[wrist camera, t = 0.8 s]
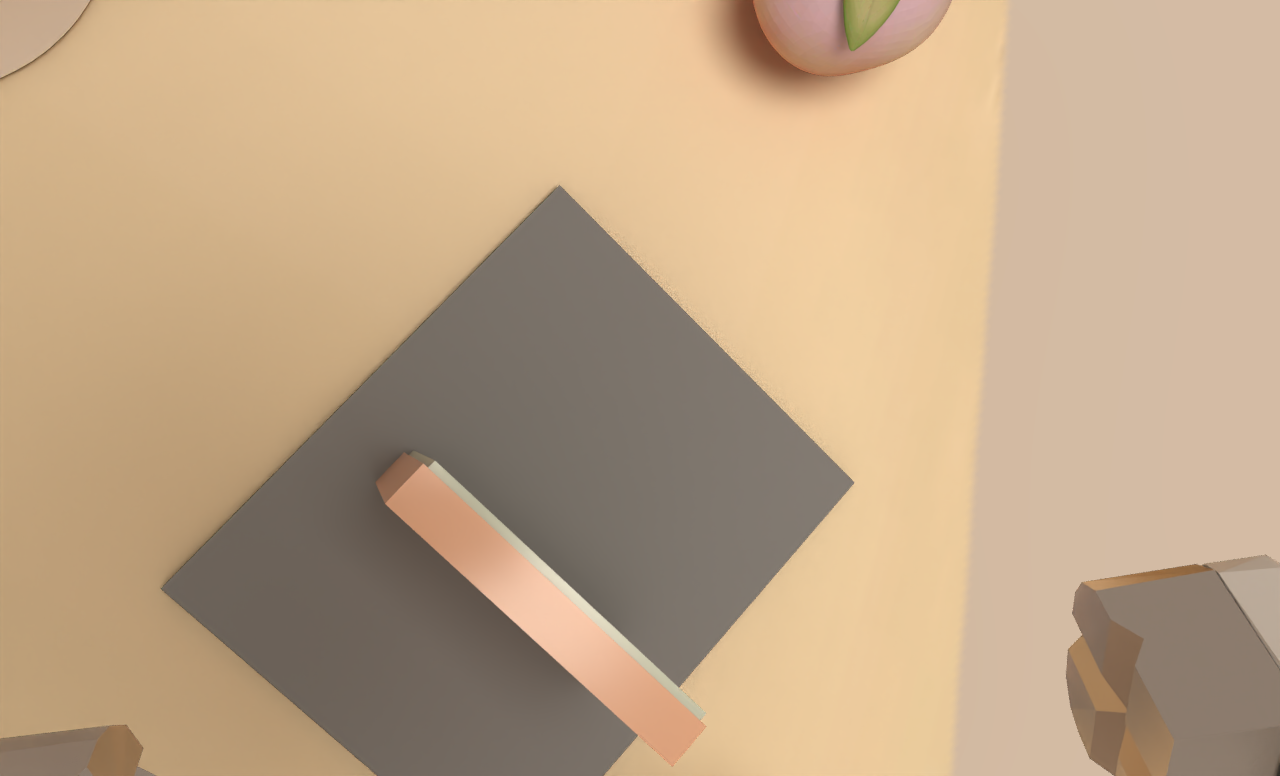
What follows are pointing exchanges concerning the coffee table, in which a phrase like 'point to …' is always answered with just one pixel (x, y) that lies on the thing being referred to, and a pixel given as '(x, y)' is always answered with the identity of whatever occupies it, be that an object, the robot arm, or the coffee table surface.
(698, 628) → the mat
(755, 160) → the coffee table surface
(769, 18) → the decorative fruit
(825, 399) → the coffee table surface
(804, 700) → the coffee table surface
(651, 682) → the tile
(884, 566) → the coffee table surface
